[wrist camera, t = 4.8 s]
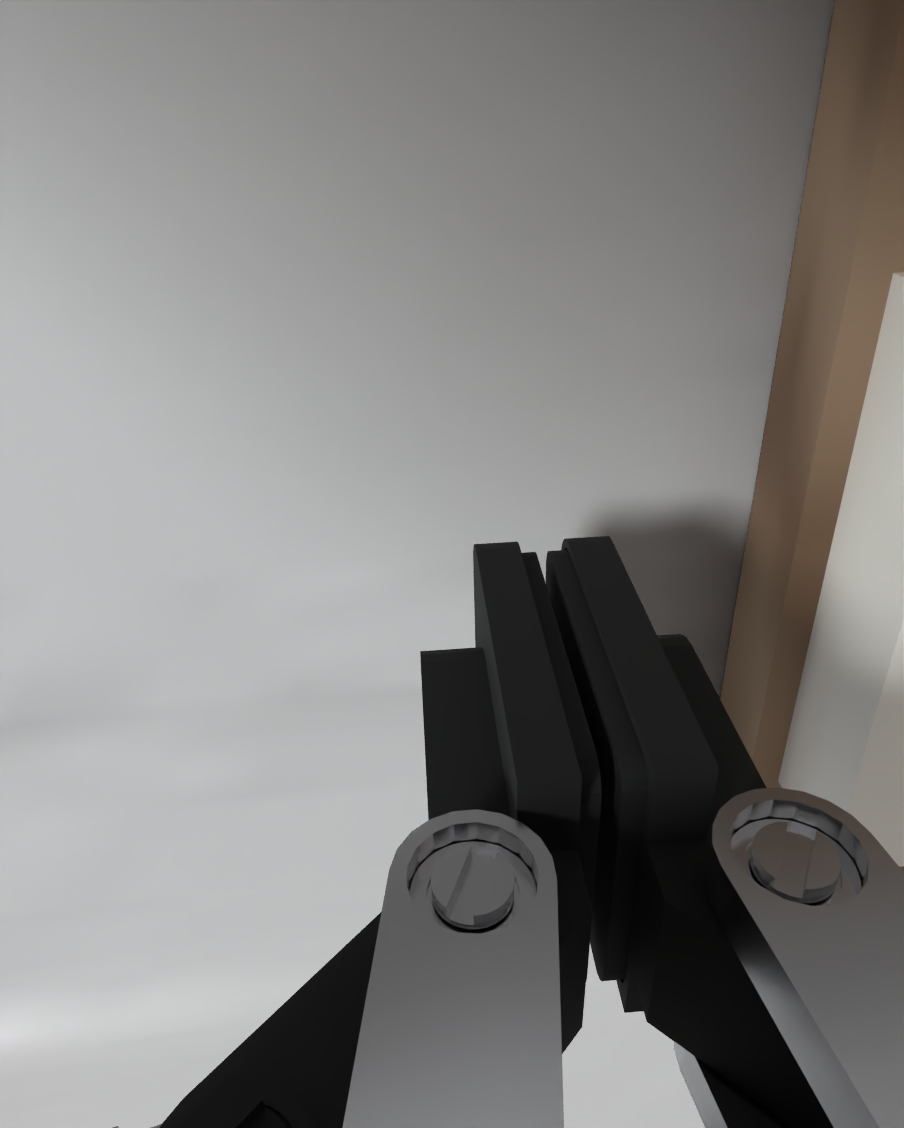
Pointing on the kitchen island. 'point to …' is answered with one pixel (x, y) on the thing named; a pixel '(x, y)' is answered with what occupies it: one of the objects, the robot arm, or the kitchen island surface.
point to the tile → (862, 621)
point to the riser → (820, 368)
